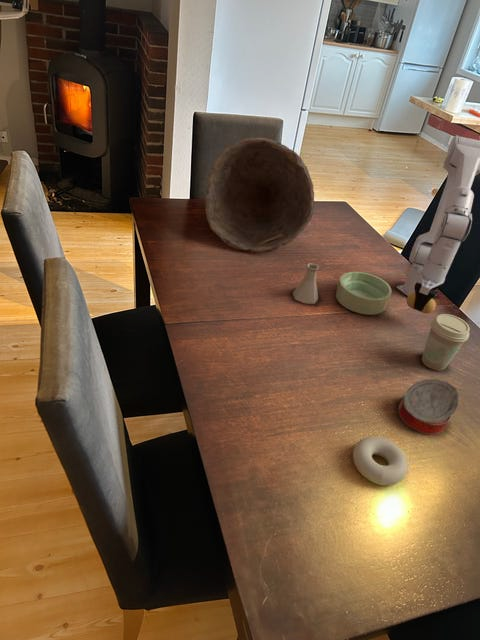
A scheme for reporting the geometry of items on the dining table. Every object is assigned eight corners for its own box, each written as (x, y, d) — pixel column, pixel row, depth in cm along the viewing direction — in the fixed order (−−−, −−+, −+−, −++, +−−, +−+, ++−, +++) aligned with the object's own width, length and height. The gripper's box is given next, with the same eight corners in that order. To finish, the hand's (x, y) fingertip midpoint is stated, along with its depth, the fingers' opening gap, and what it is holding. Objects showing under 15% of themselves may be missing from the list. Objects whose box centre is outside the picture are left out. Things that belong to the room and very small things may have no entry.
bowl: (280, 133, 166) (273, 111, 137) (331, 217, 168) (335, 213, 139) (201, 187, 174) (178, 178, 144) (251, 268, 176) (238, 274, 147)
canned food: (435, 446, 99) (459, 436, 90) (389, 428, 100) (408, 417, 91) (444, 397, 104) (467, 383, 95) (400, 381, 105) (419, 365, 96)
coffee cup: (408, 354, 116) (426, 315, 109) (434, 348, 119) (453, 310, 112) (432, 377, 110) (452, 337, 103) (459, 371, 113) (480, 331, 106)
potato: (402, 307, 125) (407, 294, 122) (406, 300, 128) (412, 287, 125) (429, 319, 122) (436, 305, 119) (433, 311, 125) (440, 297, 122)
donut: (393, 444, 92) (344, 443, 90) (399, 433, 90) (349, 431, 88) (412, 490, 84) (359, 489, 82) (419, 478, 82) (365, 477, 80)
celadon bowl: (361, 284, 141) (366, 268, 138) (395, 309, 132) (402, 293, 128) (325, 293, 134) (329, 276, 131) (358, 321, 125) (364, 304, 122)
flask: (317, 307, 128) (325, 275, 122) (291, 301, 128) (298, 269, 123) (318, 293, 134) (327, 262, 128) (293, 287, 134) (301, 257, 128)
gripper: (430, 244, 123) (412, 288, 131) (415, 265, 112) (397, 311, 120) (457, 254, 120) (437, 298, 128) (445, 276, 110) (424, 322, 118)
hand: (420, 305), depth 124 cm, fingers closed on potato, 4 cm apart
